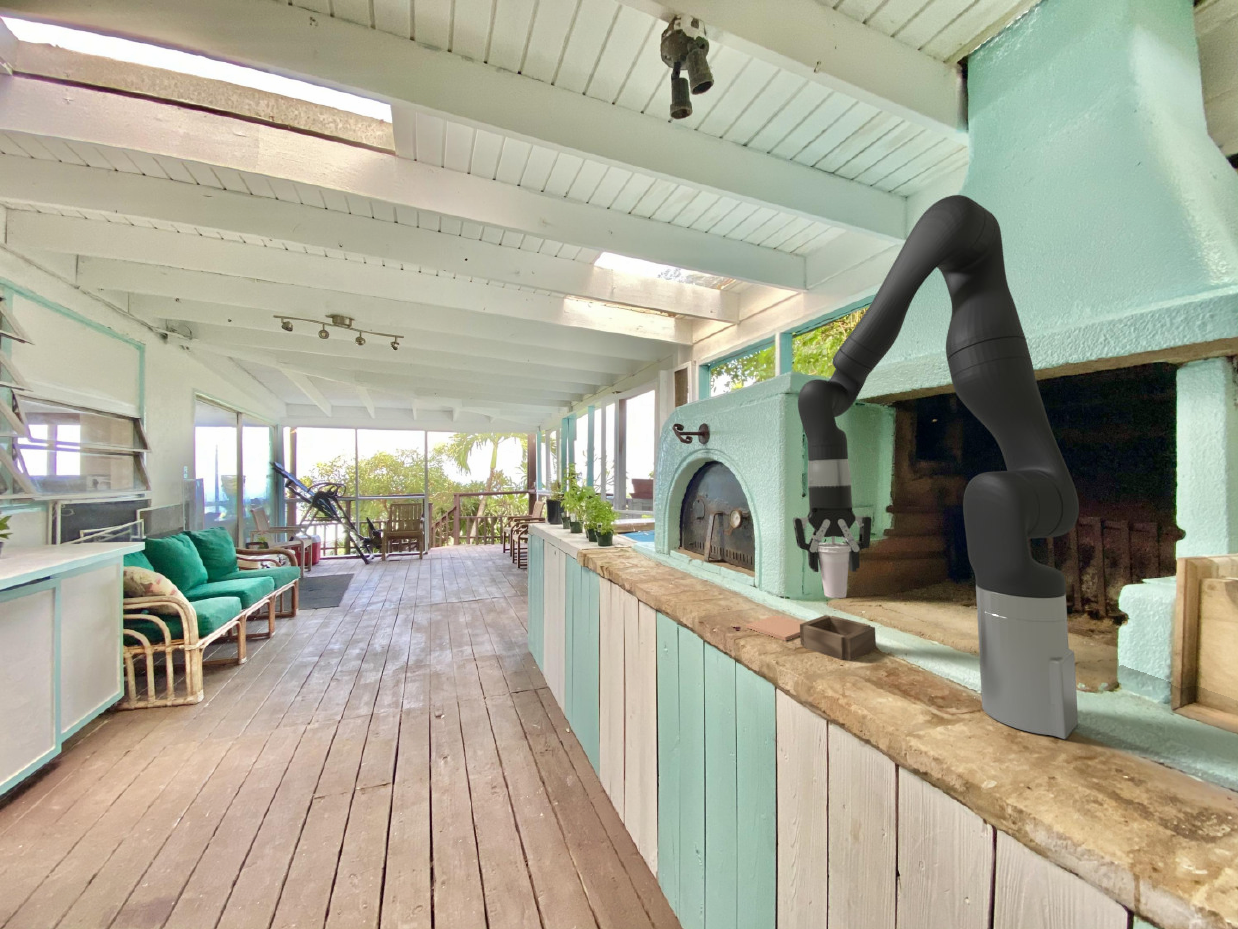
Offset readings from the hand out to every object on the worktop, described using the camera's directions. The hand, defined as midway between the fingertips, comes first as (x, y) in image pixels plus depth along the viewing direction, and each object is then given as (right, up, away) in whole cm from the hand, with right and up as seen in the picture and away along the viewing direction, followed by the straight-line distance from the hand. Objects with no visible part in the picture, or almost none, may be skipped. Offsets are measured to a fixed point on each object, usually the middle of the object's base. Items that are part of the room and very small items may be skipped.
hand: (833, 570), depth 88 cm
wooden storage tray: (+1, -15, 0) cm, 15 cm away
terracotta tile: (-6, -15, +11) cm, 20 cm away
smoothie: (0, -5, 0) cm, 5 cm away
